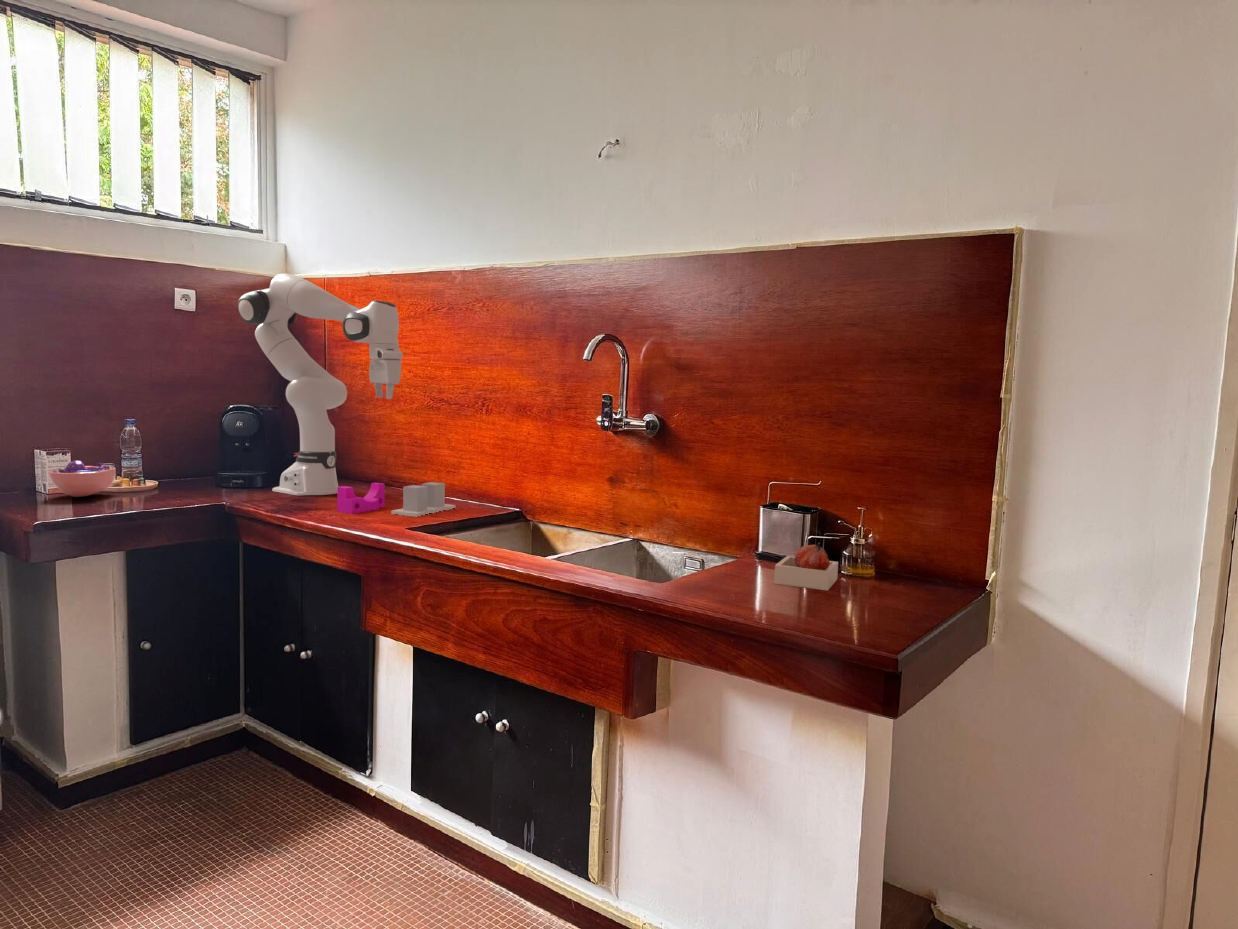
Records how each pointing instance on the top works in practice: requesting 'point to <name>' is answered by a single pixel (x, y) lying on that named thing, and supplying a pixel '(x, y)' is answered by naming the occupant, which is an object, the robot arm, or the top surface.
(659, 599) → the top surface
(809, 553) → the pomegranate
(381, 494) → the toy block
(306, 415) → the robot arm
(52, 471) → the cell model
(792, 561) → the fruit dish
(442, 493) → the base
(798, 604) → the top surface
